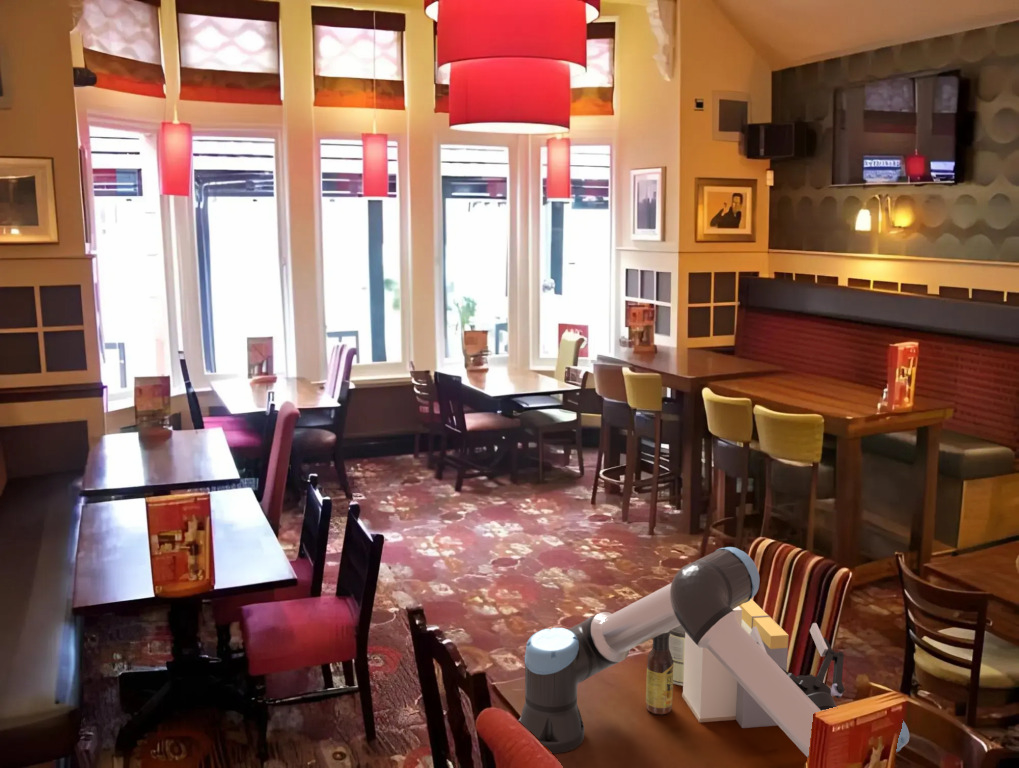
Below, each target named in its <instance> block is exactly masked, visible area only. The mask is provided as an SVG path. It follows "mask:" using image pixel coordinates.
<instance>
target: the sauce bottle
mask: <svg viewBox="0 0 1019 768" xmlns="http://www.w3.org/2000/svg"><path fill="white" fill-rule="evenodd" d="M669 636H670V630H669V631H667V632H665V633H663V634H661V635H659V636H657V637H655V638H653V639H652V647H651V648H652V649H650V651H649V652H648V654H647V661H646V662H647V666H646V680H645V682H646V683H645V685H646V686H645V687H646V689H645V703H646V704H645V706H646V709H647V711H648V712H650V713H652V714H655V715H666V714H668V713H670V712H671V711H672V709H673V708H672V707H673V706H672V705H673V697H674V696H673V693H674V692H673V691H674V690H673V689H674V684H673V667H674V662H673V659H672V656H671V653H670V650H669Z"/></svg>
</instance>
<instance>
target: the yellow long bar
mask: <svg viewBox="0 0 1019 768" xmlns="http://www.w3.org/2000/svg"><path fill="white" fill-rule="evenodd" d="M739 607H740V608H741V609H742V619H743V621H744V622H745V623H746V624H747V625H748V626H749V627H750V628H751V629H752V628H753V627H757V629H758V632H759V634H760V637H761V639H762V641H763V642H764V643H765V644H766V645H767V646H768V647H769V648H770V649H777V648H788V649H789V638H788V635H789V634H788V632H786V631H785V630H784V629H783V628H782V627H781V626H780V625H779V624H778V623H777V622H776V621H775V620H774V619H773V618H772V617H771V616H770V615H769V614H768V613H767V612H765V611H764V609H762V608H761V607H760V605H759V604H757V603H756V602H755V601H754V600H753V599H752V598H751V599H750V601H748V602H746V603H743V604H741V605H740V606H739ZM770 617H771V618H770Z"/></svg>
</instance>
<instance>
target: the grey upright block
mask: <svg viewBox="0 0 1019 768" xmlns="http://www.w3.org/2000/svg"><path fill="white" fill-rule="evenodd" d="M770 618H772V617H771V616H770ZM741 627H742V628H743V629H744V630H745V631H746V632H747V633H748V634H749V635H750V633H751V631H752V629H751V628H750V627H749V626H748V625H747V624H746V623H745V622H744V621H743V619H742V623H741ZM789 637H790V635H789V634H788V639H789ZM762 642H763V641H762ZM763 644H764V647H765V650H766V652H767V654H768V655H769V656H770V657H771V658H772V659H773V660H774V661H775V663H776V664H777V665H778V666H780V667H781V668H782V669H784V670H785V671H787V668H788V653H789V647H788V648H777V649H770V648H769V647H768V646H767V645H766V644H765V643H764V642H763ZM787 672H788V671H787ZM736 722H737V723H738V725H739V726H740V727H741V729H749V728H759V727H760V728H761V727H774V726H776V727H777V726H778V725H777V724H776V723H775V721H774V720H773V719H772V718H771V717H770V716H769V715H768V714H767V713H766V712H765V711H764V710H763V708H762V707H761V706H760V705H759V704H758V703H757V702H756V701H755V700H754V699H753V698H752V696H751V695H750V694H749V693H748V692H747V691H746V690H745V689H744V688H743V687H742V686H741V684H740V683H739V682H738V681H737V701H736Z"/></svg>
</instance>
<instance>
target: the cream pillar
mask: <svg viewBox="0 0 1019 768" xmlns="http://www.w3.org/2000/svg"><path fill="white" fill-rule="evenodd" d="M733 610H734V612H735V613H736V621H737V622H738V624H739V625H740V626H741V623H742V609H741V608H740V607H739V606H738V607H736V608H734V609H733ZM681 697H682V699H683V700H684V702H685V703H686V704H687V707H688V708H689V710H690V711H691V713H692V714H693V715H694V717H695V718H696V720H697V721H698V723H709V722H722V721H735V720H736V701H737V680H736V679H735V678H734V677H733V676H732V675H731V674H730V672H729V671H728V670H727V669H726V668H725V667H724V666H723V665H722V664H721V663H720V662H719V660H718V659H717V658H716V657H715V656H714V655H713V654H712V653H711V652H710V651H709V650H708V649H707V648H700V647H698V646H697V645H696V643H695V642H694V641H693V640H692V639H691V638H690V637H689V635H688V634H687V633H686V632H685V654H684V681H683V686H682V693H681ZM736 721H737V720H736Z"/></svg>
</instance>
